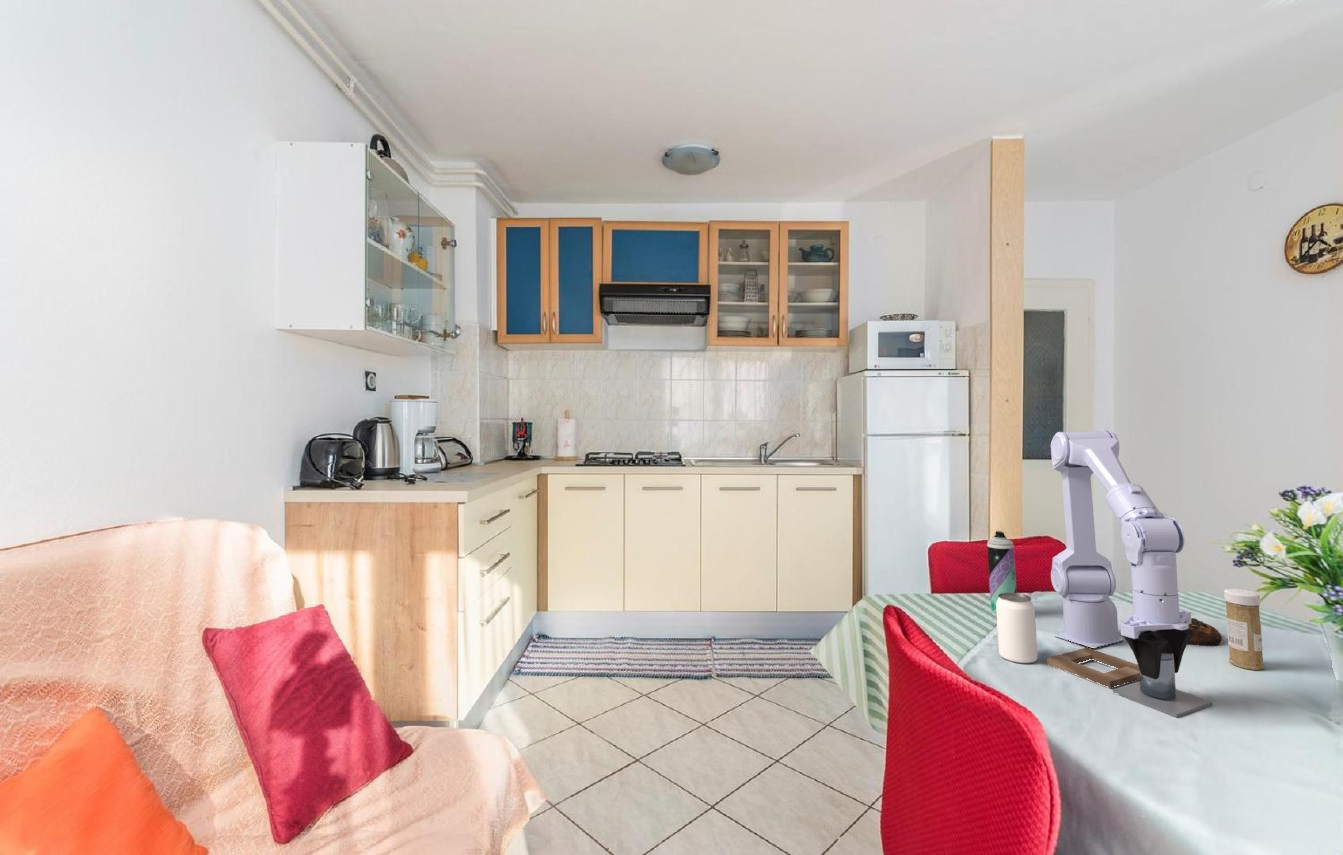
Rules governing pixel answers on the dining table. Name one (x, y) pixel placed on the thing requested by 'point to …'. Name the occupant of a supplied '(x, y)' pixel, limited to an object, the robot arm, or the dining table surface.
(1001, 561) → the spray can
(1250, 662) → the sprinkles bottle
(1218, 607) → the dining table surface
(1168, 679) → the grey metal cylinder
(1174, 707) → the coaster
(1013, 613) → the can
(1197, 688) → the dining table surface
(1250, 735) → the dining table surface
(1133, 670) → the collar
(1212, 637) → the bread roll
